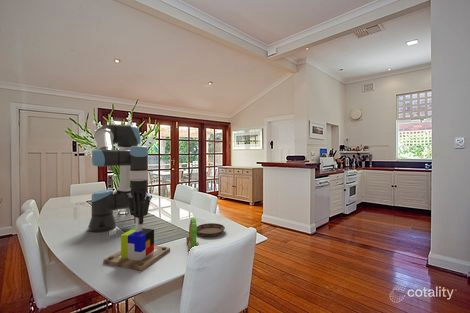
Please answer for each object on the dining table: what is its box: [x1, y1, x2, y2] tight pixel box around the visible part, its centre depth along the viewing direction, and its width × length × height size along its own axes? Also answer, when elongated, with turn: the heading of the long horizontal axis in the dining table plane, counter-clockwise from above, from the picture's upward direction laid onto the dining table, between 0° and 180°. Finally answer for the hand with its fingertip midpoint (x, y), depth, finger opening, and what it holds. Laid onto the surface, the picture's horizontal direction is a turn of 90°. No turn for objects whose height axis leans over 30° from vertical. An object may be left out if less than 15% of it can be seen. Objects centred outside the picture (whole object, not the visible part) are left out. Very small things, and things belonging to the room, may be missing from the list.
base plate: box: [103, 244, 171, 272], centre depth 106 cm, size 20×20×2 cm
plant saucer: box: [197, 222, 226, 238], centre depth 138 cm, size 18×18×3 cm
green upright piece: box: [185, 217, 200, 252], centre depth 117 cm, size 16×5×15 cm, turn 17°
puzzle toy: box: [120, 227, 155, 260], centre depth 105 cm, size 10×10×10 cm
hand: (138, 230), depth 106 cm, fingers closed
